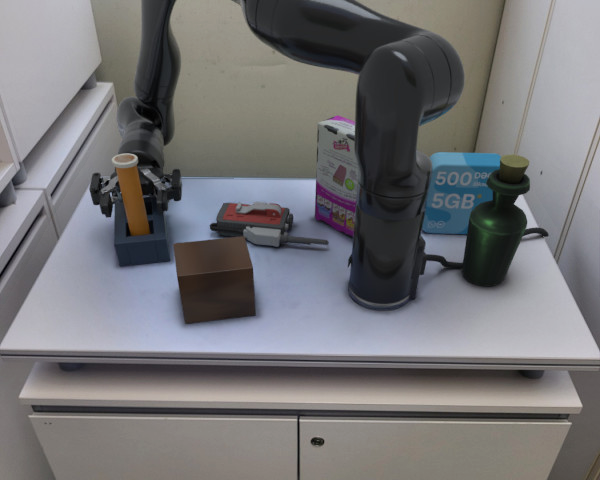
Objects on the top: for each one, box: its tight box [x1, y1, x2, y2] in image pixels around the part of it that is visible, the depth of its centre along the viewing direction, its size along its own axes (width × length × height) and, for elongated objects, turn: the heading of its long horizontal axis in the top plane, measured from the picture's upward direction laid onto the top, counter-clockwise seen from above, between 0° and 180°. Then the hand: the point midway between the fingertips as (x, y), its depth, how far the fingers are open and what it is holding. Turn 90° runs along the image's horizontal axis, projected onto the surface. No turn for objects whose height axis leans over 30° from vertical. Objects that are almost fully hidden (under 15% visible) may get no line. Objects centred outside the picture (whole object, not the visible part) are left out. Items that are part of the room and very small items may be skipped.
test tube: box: [111, 153, 150, 236], centre depth 89 cm, size 4×4×15 cm
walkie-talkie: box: [209, 201, 329, 248], centre depth 97 cm, size 9×4×20 cm
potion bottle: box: [461, 154, 531, 287], centre depth 84 cm, size 8×8×18 cm
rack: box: [113, 196, 171, 267], centre depth 95 cm, size 8×14×4 cm, turn 12°
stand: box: [172, 236, 257, 325], centre depth 83 cm, size 10×8×8 cm
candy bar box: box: [314, 115, 359, 239], centre depth 95 cm, size 11×5×16 cm, turn 44°
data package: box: [422, 151, 502, 235], centre depth 96 cm, size 12×4×12 cm, turn 88°
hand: (133, 210), depth 87 cm, fingers open, 7 cm apart
